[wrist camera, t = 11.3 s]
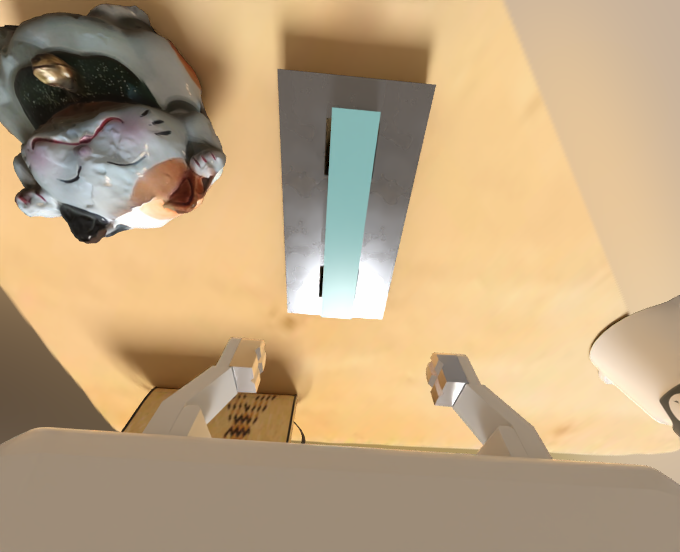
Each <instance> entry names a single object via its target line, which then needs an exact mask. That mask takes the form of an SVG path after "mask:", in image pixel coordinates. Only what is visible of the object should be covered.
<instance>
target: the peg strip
mask: <svg viewBox="0 0 680 552" xmlns="http://www.w3.org/2000/svg"><path fill="white" fill-rule="evenodd" d="M380 114H381V112H375V111H364V110H354V109H344V108H333V107H332V120H331V138H330V157H329V176H328V195H327V214H326V233H325V251H324V270H323V289H322V308H321V317H328V318H343V319H352V312H353V305H354V298H355V291H356V284H357V277H358V270H359V263H360V256H361V249H362V242H363V234H364V227H365V220H366V213H367V206H368V199H369V192H370V185H371V178H372V171H373V164H374V157H375V149H376V142H377V135H378V128H379V121H380Z"/></svg>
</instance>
